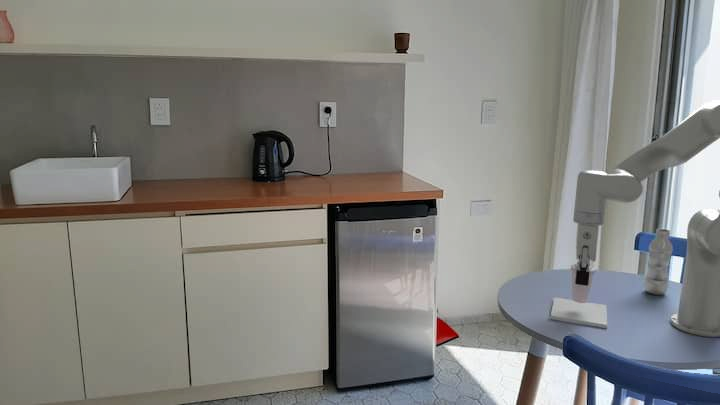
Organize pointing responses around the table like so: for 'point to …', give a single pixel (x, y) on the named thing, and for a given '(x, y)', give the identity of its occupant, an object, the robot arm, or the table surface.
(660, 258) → the plastic bottle
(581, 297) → the smoothie
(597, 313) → the tile
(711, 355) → the table surface
